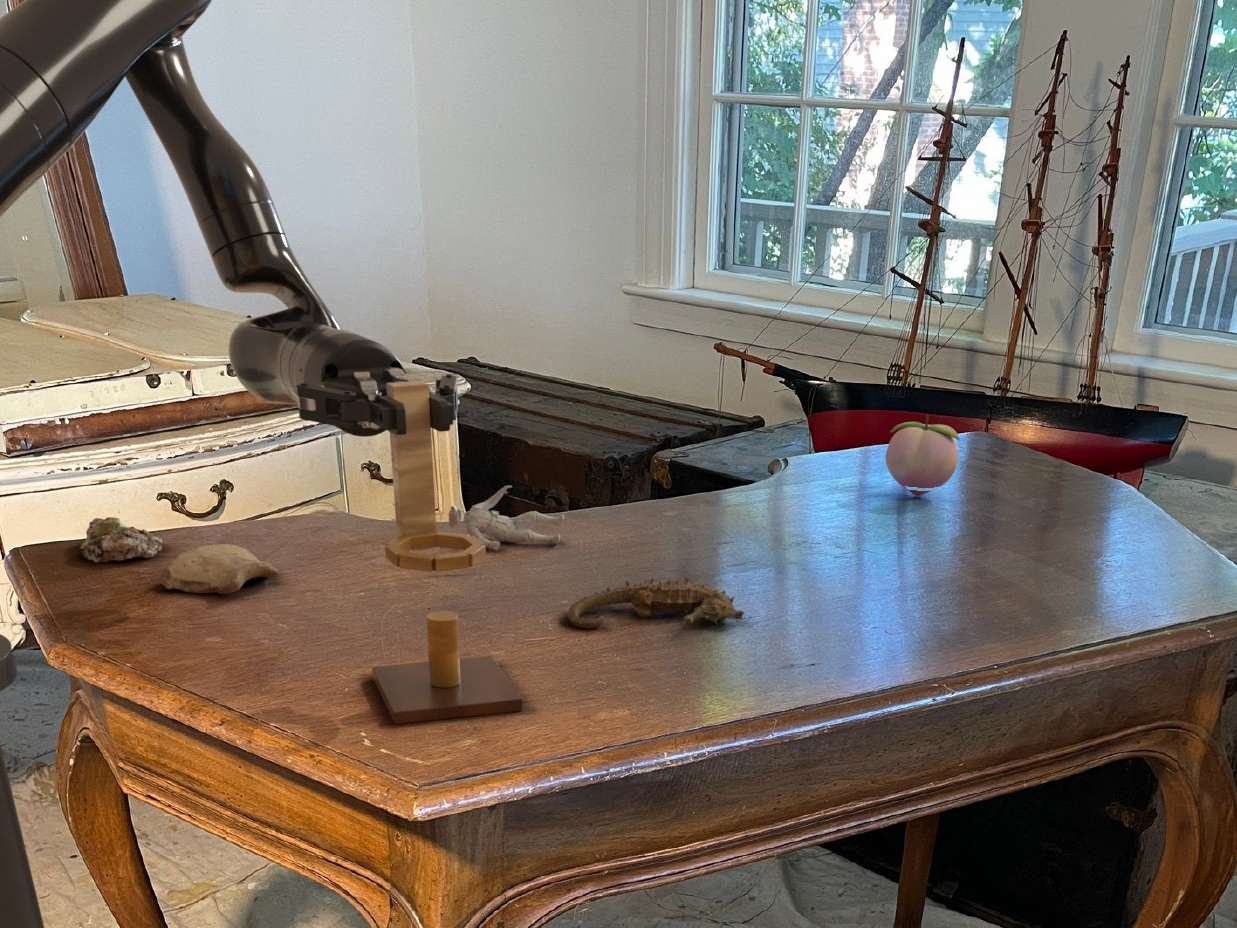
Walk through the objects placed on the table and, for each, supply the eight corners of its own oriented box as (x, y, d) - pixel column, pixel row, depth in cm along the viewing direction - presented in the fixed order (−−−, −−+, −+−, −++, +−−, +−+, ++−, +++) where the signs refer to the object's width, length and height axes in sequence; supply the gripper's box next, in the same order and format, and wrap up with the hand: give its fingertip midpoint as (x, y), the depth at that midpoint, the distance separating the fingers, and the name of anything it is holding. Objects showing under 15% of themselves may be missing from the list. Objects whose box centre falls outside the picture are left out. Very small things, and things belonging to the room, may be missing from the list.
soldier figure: (555, 562, 140) (447, 528, 137) (544, 582, 144) (439, 549, 141) (568, 500, 142) (462, 465, 139) (557, 521, 147) (453, 487, 143)
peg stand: (394, 724, 98) (388, 642, 95) (372, 678, 106) (366, 601, 103) (522, 710, 101) (521, 631, 98) (491, 666, 109) (489, 591, 106)
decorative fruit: (960, 493, 170) (972, 414, 165) (946, 506, 163) (957, 424, 158) (890, 484, 173) (900, 406, 168) (873, 497, 166) (883, 416, 161)
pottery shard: (156, 603, 125) (226, 596, 120) (144, 557, 124) (213, 548, 118) (241, 582, 134) (309, 575, 128) (230, 539, 132) (299, 530, 127)
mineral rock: (178, 534, 133) (96, 523, 127) (173, 577, 134) (92, 567, 129) (143, 515, 140) (65, 503, 135) (139, 555, 141) (61, 545, 136)
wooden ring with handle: (497, 564, 98) (492, 399, 92) (406, 576, 95) (395, 405, 89) (456, 535, 105) (449, 379, 99) (370, 545, 102) (357, 384, 96)
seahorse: (576, 597, 126) (576, 566, 125) (742, 605, 126) (744, 574, 124) (564, 629, 118) (564, 596, 117) (742, 638, 118) (744, 605, 116)
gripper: (257, 336, 103) (326, 370, 90) (423, 329, 110) (509, 360, 97) (268, 433, 107) (336, 479, 94) (428, 421, 113) (511, 462, 100)
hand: (423, 418), depth 96 cm, fingers closed on wooden ring with handle, 3 cm apart
